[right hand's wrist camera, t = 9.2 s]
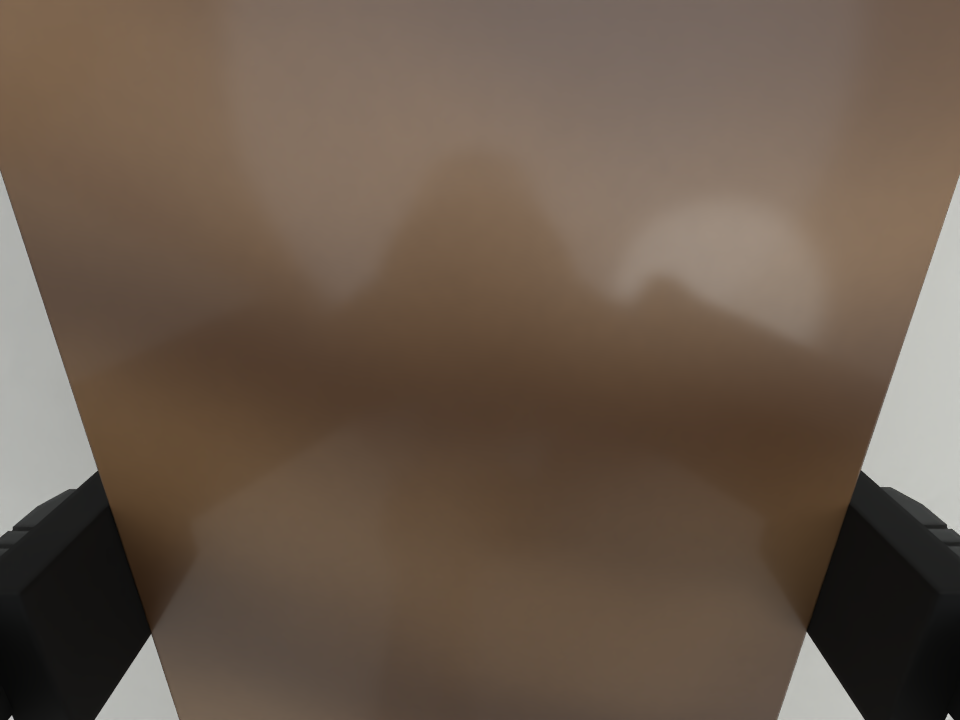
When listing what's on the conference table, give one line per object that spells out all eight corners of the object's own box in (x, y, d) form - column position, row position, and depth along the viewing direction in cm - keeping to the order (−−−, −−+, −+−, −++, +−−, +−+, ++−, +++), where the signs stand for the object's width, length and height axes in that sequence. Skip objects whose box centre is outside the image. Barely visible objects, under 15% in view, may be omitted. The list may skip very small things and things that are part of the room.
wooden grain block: (228, -111, 12) (-229, -522, 4) (730, -107, 12) (1190, -508, 4) (310, 463, 19) (181, 731, 10) (646, 463, 19) (774, 730, 11)
